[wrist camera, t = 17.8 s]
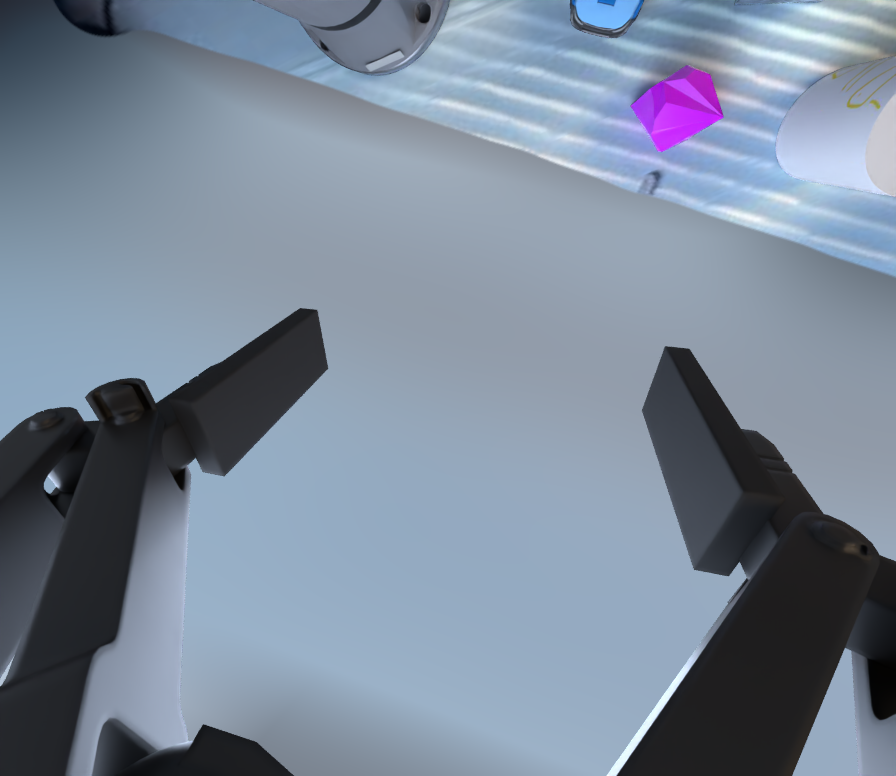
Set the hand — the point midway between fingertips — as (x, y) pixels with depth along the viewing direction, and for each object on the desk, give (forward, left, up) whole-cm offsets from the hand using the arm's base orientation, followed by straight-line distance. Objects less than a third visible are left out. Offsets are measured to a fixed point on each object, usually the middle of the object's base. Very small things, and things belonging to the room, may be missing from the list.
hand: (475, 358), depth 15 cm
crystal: (-7, +13, -33) cm, 36 cm away
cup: (-4, +26, -33) cm, 42 cm away
